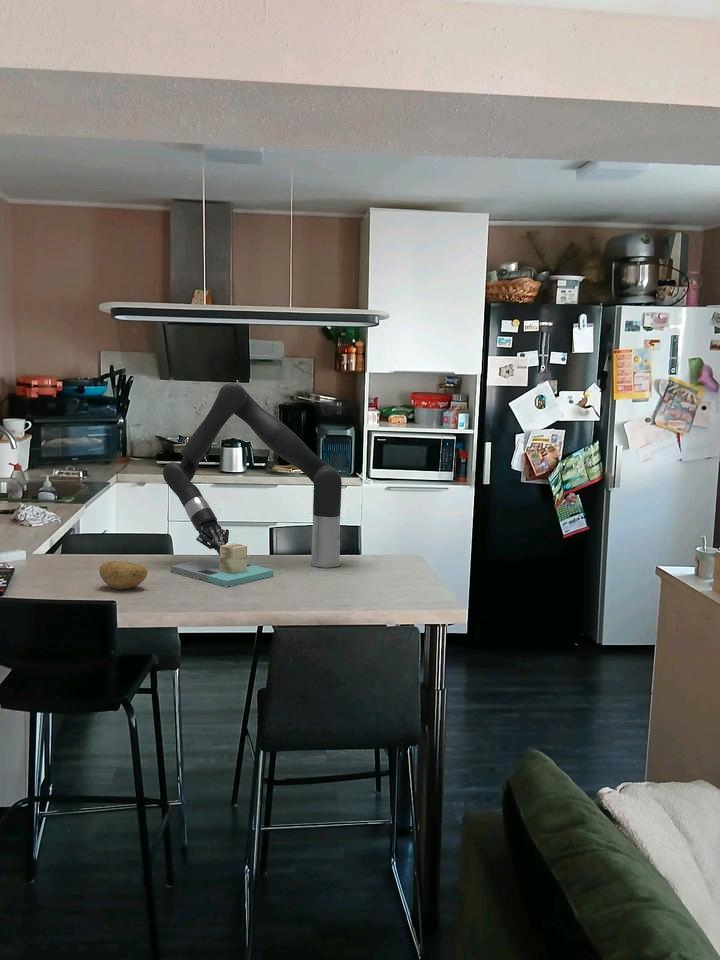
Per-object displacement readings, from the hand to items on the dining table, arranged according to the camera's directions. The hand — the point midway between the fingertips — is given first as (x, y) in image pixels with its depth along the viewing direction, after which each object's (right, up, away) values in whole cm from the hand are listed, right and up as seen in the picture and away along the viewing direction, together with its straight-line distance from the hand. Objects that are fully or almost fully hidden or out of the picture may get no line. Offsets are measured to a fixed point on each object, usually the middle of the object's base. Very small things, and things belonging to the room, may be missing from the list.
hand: (225, 557), depth 276 cm
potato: (-27, -8, -19) cm, 34 cm away
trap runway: (-1, -6, +2) cm, 6 cm away
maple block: (+3, -4, -2) cm, 5 cm away
